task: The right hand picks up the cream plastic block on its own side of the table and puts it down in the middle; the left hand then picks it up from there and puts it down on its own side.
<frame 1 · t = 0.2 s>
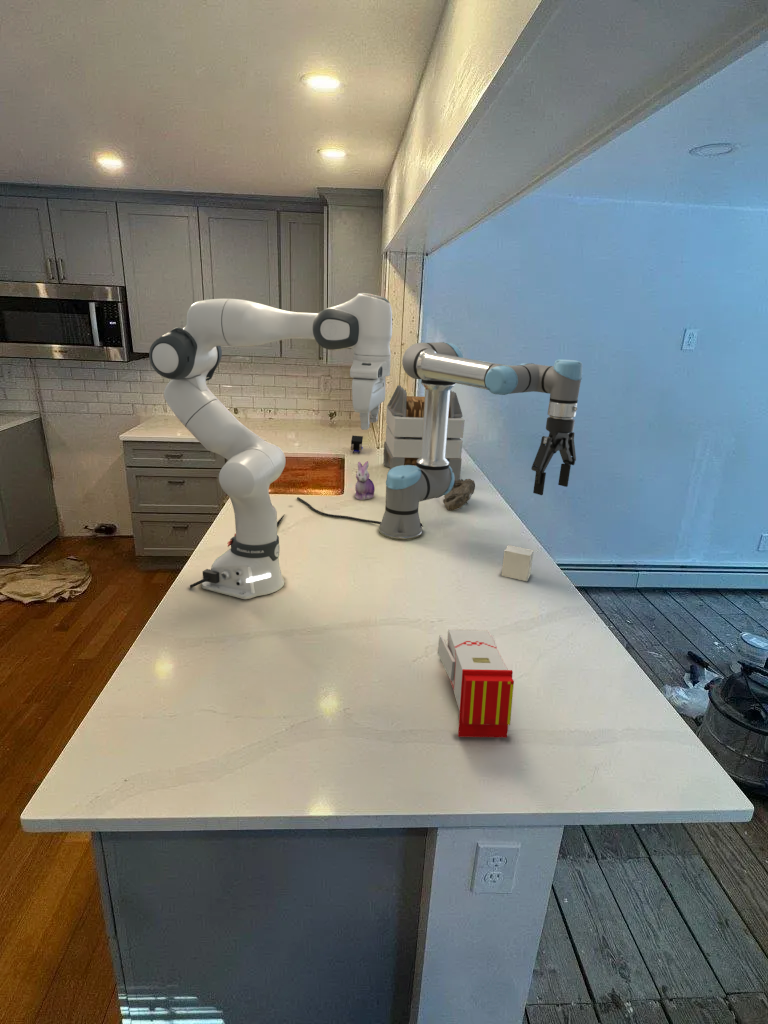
left hand: (369, 425, 138), 48 cm above the counter, tool pointing down, fingers open, 8 cm apart
right hand: (550, 489, 166), 27 cm above the counter, tool pointing down, fingers open, 13 cm apart
figurine: (364, 497, 237), on the counter
figurine character: (356, 451, 311), on the counter
slatted wooden crate: (419, 473, 275), on the counter
feather: (282, 518, 209), on the counter
fossil: (457, 503, 234), on the counter
toy: (469, 691, 119), on the counter
block: (515, 575, 172), on the counter
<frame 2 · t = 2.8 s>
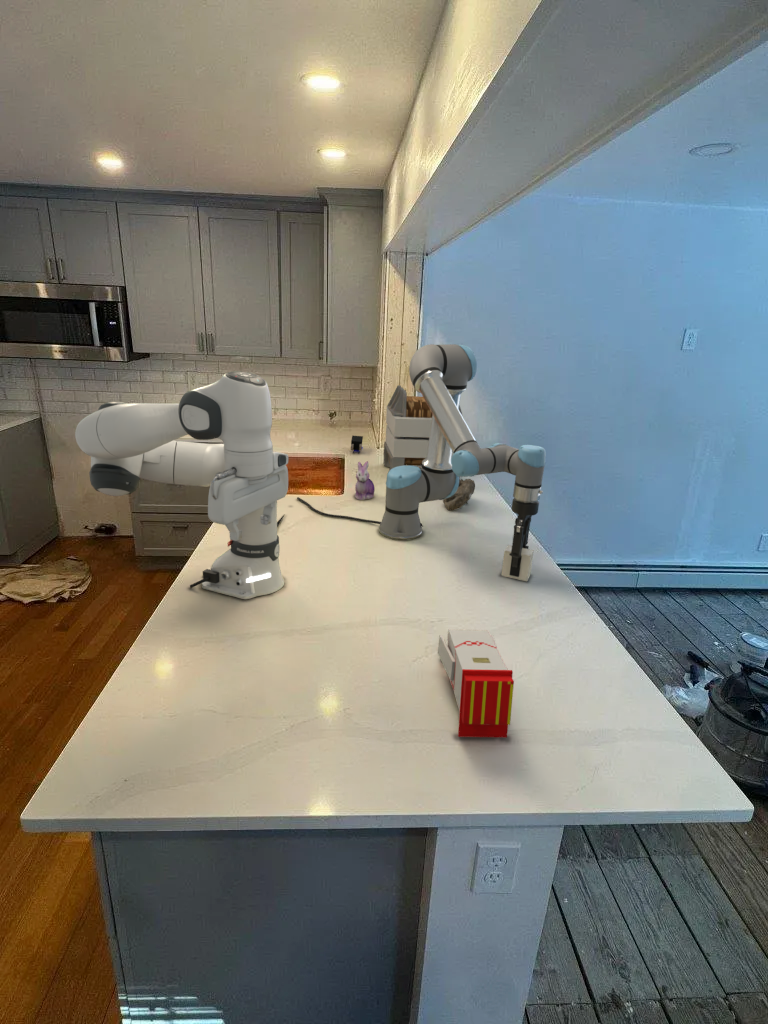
left hand: (251, 531, 110), 33 cm above the counter, tool pointing down, fingers open, 8 cm apart
right hand: (516, 571, 172), 1 cm above the counter, tool pointing down, fingers closed on block, 5 cm apart
block: (515, 575, 172), on the counter, touching right hand
everything else where it was.
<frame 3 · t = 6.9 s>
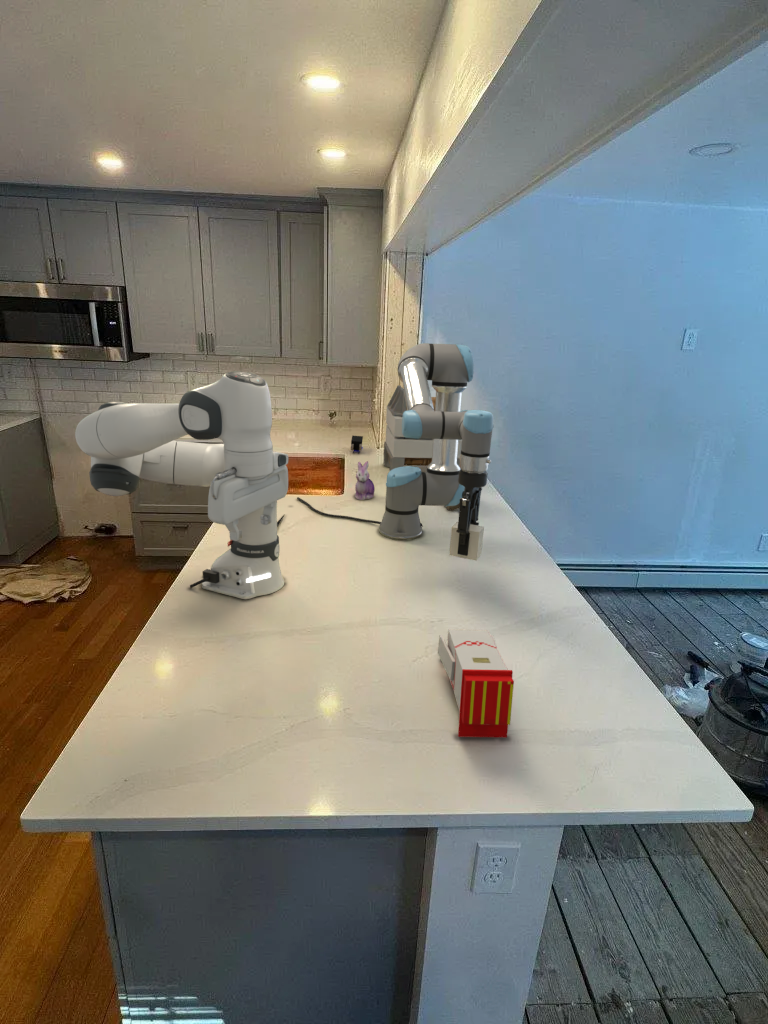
left hand: (251, 531, 110), 33 cm above the counter, tool pointing down, fingers open, 8 cm apart
right hand: (465, 550, 158), 12 cm above the counter, tool pointing down, fingers closed on block, 5 cm apart
block: (465, 554, 158), point 11 cm above the counter, touching right hand
everything else where it was.
when the right hand's fingers open (2 cm above the counter, at t = 11.3 s): block drops 1 cm, on the counter.
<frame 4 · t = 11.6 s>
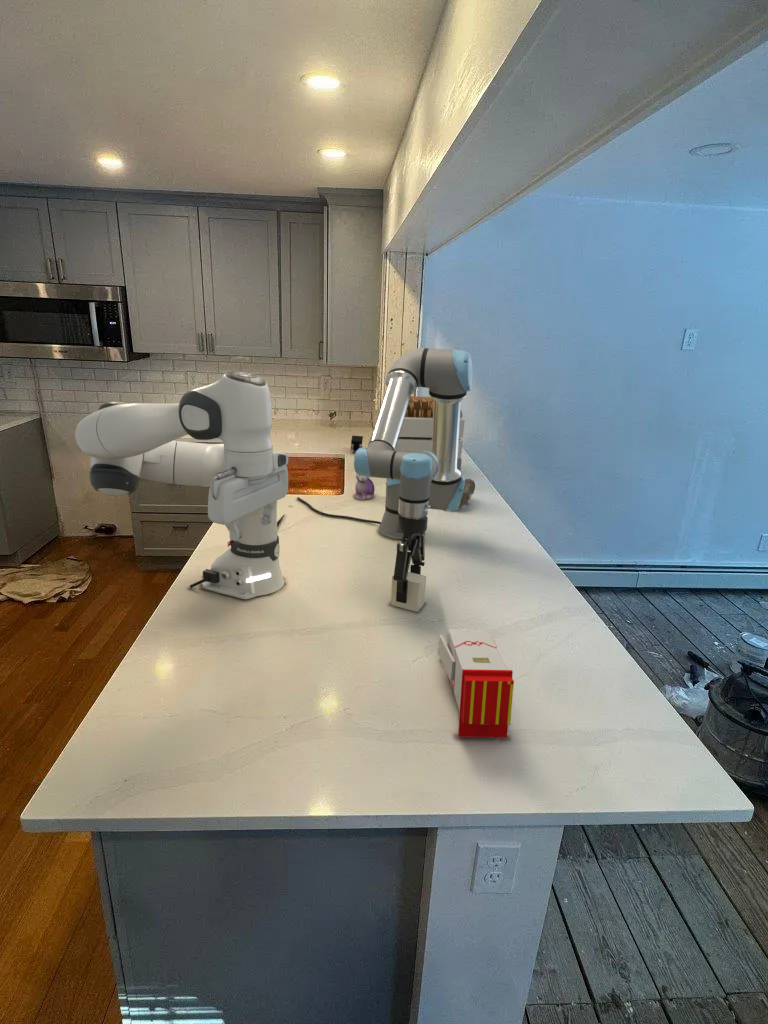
left hand: (251, 531, 110), 33 cm above the counter, tool pointing down, fingers open, 8 cm apart
right hand: (407, 594, 151), 3 cm above the counter, tool pointing down, fingers open, 8 cm apart
block: (407, 604, 153), on the counter
everything else where it was.
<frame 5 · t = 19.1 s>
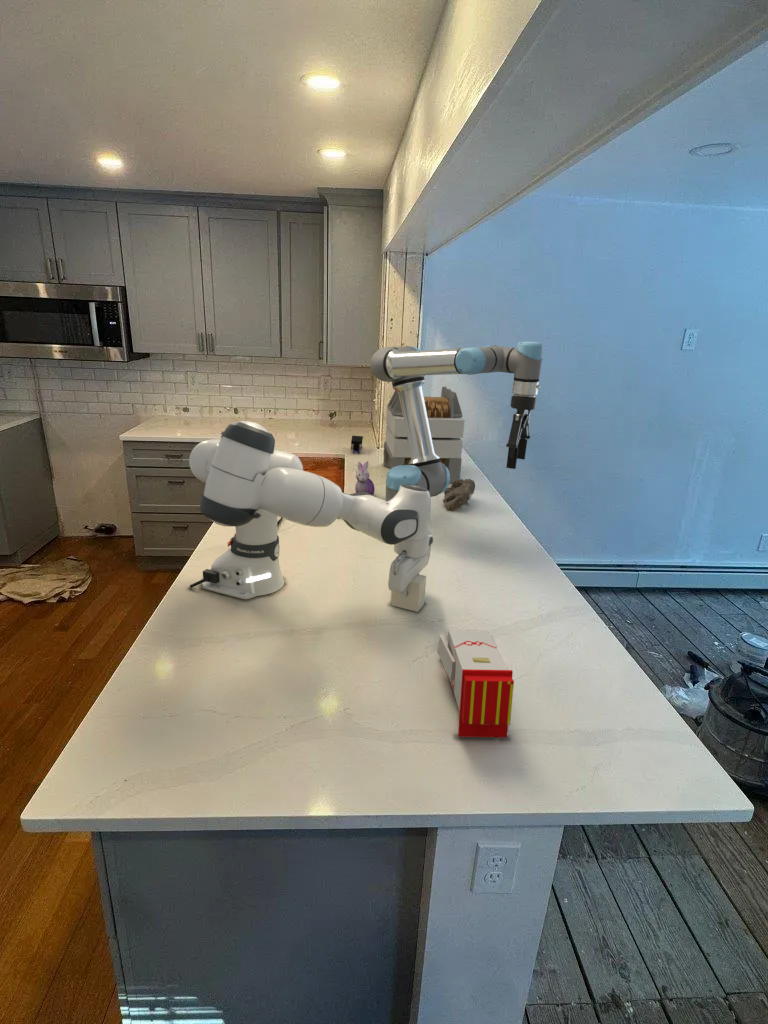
left hand: (408, 592, 151), 4 cm above the counter, tool pointing down, fingers closed on block, 5 cm apart
right hand: (515, 463, 178), 30 cm above the counter, tool pointing down, fingers open, 13 cm apart
block: (407, 604, 153), on the counter, touching left hand
everything else where it was.
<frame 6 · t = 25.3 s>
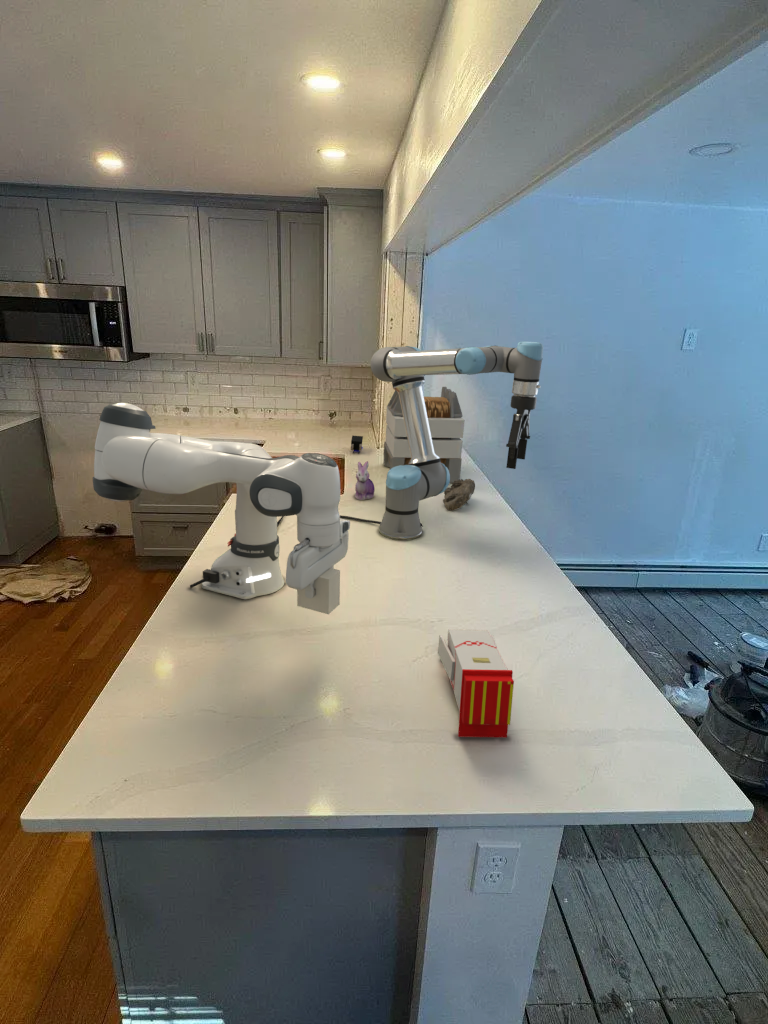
left hand: (318, 590, 123), 17 cm above the counter, tool pointing down, fingers closed on block, 5 cm apart
right hand: (515, 463, 178), 30 cm above the counter, tool pointing down, fingers open, 13 cm apart
block: (318, 605, 124), point 13 cm above the counter, touching left hand
everything else where it was.
when the left hand's fingers open (5 cm above the counter, at t = 31.6 s): block drops 1 cm, on the counter.
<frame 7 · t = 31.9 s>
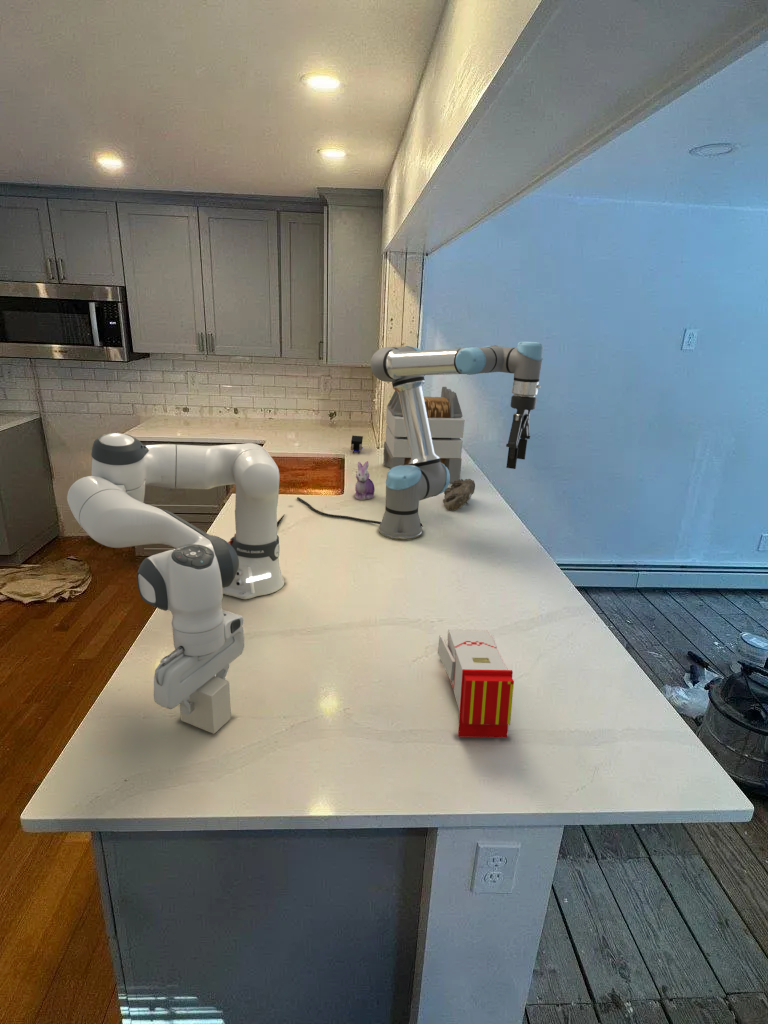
left hand: (204, 698, 106), 5 cm above the counter, tool pointing down, fingers open, 7 cm apart
right hand: (515, 463, 178), 30 cm above the counter, tool pointing down, fingers open, 13 cm apart
block: (206, 719, 107), on the counter
everything else where it was.
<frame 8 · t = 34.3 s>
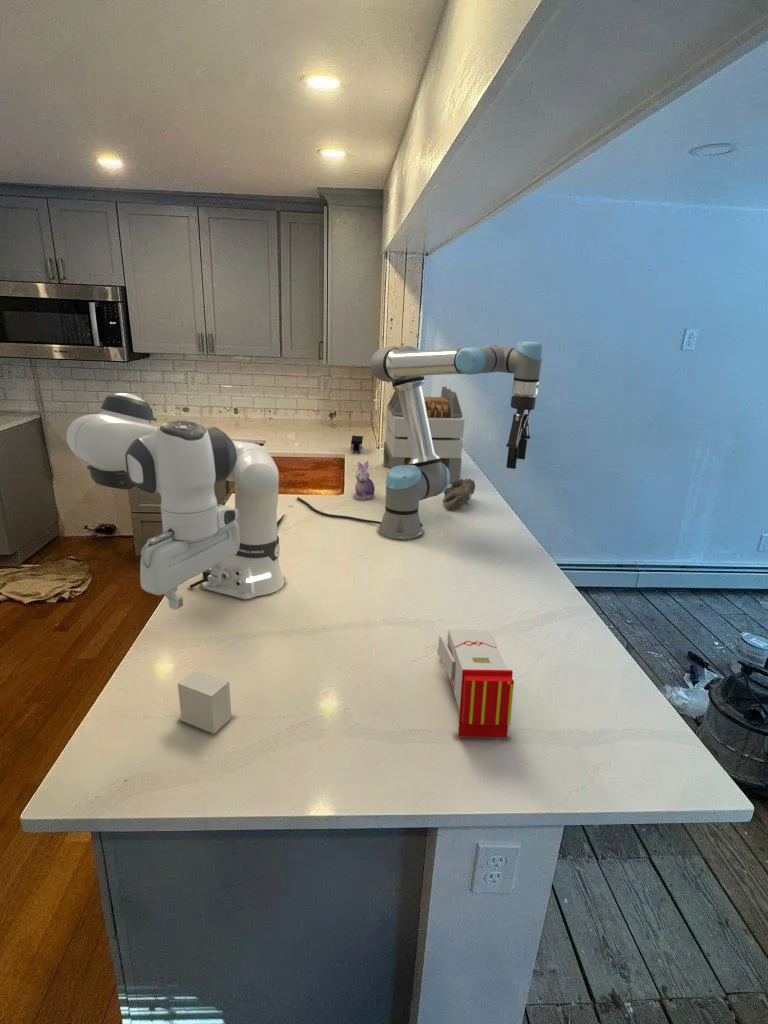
left hand: (196, 595, 98), 26 cm above the counter, tool pointing down, fingers open, 8 cm apart
right hand: (515, 463, 178), 30 cm above the counter, tool pointing down, fingers open, 13 cm apart
nothing on the counter moved.
at the end: block inside the target area (0.1 cm from its centre), on the counter; block tilted 0°; the two hands never held the block at the same time; the left hand is holding nothing; the right hand is holding nothing; block at rest at the end (0.0 cm/s) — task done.
